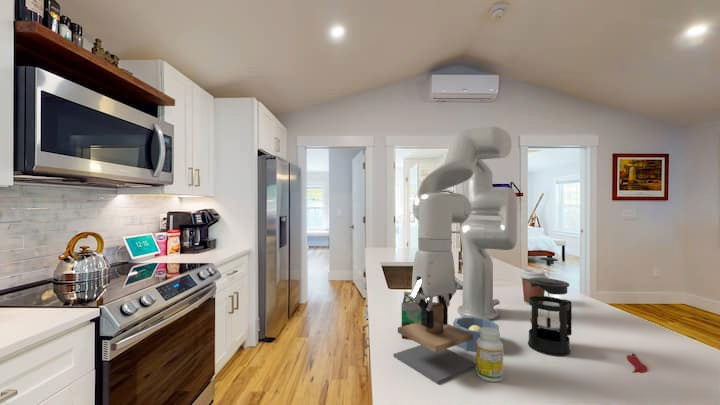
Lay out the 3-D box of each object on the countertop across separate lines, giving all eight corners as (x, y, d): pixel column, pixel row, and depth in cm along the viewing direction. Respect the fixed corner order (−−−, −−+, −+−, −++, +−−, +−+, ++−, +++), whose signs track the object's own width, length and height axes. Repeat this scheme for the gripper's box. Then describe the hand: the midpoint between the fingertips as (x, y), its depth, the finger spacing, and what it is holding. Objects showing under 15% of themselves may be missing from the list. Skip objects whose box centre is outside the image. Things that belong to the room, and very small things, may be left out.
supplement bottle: (498, 385, 63) (498, 337, 64) (472, 376, 67) (472, 330, 67) (506, 374, 68) (506, 329, 68) (481, 366, 71) (481, 323, 71)
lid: (433, 323, 81) (433, 295, 82) (472, 339, 71) (473, 307, 72) (397, 332, 75) (398, 302, 75) (435, 352, 65) (436, 317, 65)
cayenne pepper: (643, 378, 67) (643, 369, 67) (616, 369, 71) (616, 361, 71) (655, 362, 75) (655, 353, 75) (630, 354, 78) (630, 346, 78)
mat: (431, 343, 83) (431, 341, 83) (478, 366, 71) (478, 363, 71) (393, 356, 75) (393, 353, 75) (437, 384, 64) (437, 381, 64)
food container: (424, 342, 83) (424, 304, 83) (401, 340, 84) (401, 303, 85) (424, 325, 95) (424, 292, 95) (404, 323, 97) (404, 291, 97)
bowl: (471, 331, 91) (471, 314, 91) (507, 345, 82) (507, 326, 82) (445, 340, 85) (445, 321, 85) (480, 356, 76) (480, 335, 76)
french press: (546, 358, 75) (546, 261, 75) (517, 342, 84) (517, 255, 84) (585, 353, 78) (585, 260, 78) (553, 337, 87) (553, 254, 87)
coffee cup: (553, 307, 113) (553, 273, 114) (527, 307, 113) (527, 273, 114) (539, 299, 122) (539, 268, 123) (515, 299, 123) (515, 268, 123)
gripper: (446, 242, 81) (446, 313, 81) (396, 246, 72) (396, 326, 72) (471, 245, 75) (471, 323, 75) (420, 249, 66) (419, 338, 65)
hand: (434, 323), depth 73 cm, fingers closed on lid, 4 cm apart
